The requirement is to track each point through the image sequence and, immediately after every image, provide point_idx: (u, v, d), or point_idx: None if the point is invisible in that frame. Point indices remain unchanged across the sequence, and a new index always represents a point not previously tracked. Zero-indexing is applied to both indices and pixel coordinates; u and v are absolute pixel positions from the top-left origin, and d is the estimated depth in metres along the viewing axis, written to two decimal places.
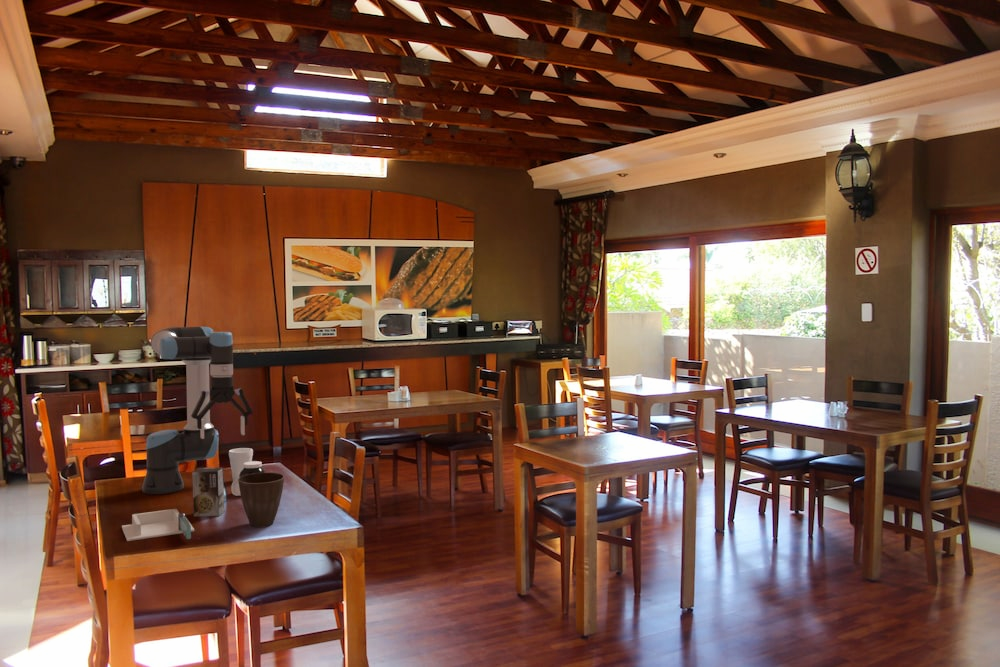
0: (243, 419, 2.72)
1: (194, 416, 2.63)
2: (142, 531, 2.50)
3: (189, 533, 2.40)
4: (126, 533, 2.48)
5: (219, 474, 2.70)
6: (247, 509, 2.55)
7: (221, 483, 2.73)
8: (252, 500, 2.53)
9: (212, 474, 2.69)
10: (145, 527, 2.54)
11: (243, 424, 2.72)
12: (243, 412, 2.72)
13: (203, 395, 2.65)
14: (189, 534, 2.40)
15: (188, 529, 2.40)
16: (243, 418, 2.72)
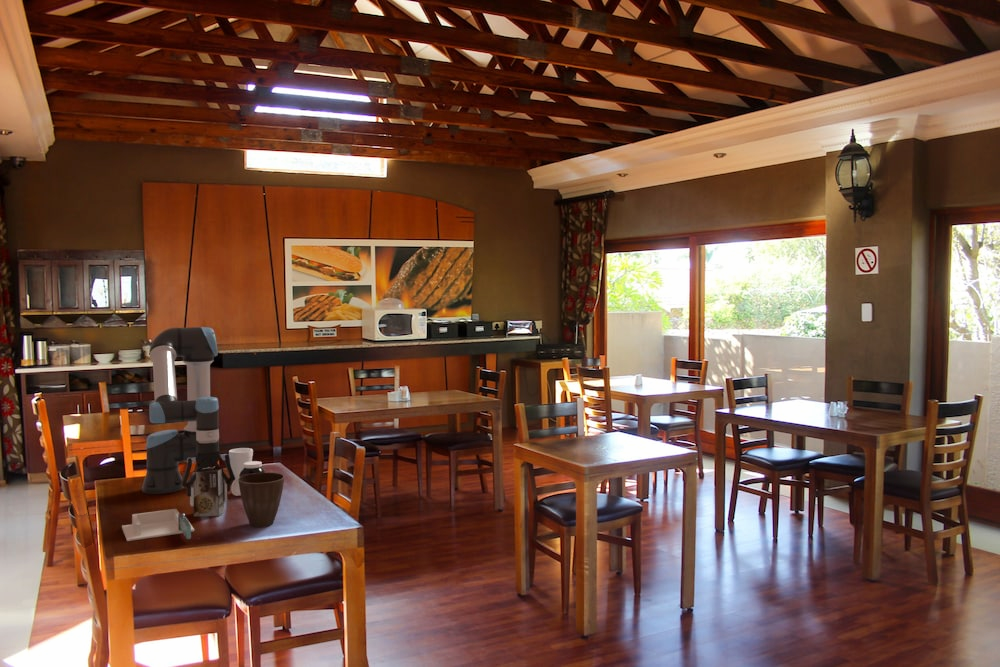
0: (225, 486, 2.74)
1: (184, 484, 2.66)
2: (142, 531, 2.50)
3: (189, 533, 2.40)
4: (126, 533, 2.48)
5: (219, 474, 2.70)
6: (247, 509, 2.55)
7: (221, 483, 2.73)
8: (252, 500, 2.53)
9: (212, 474, 2.69)
10: (145, 527, 2.54)
11: (225, 491, 2.74)
12: (226, 478, 2.74)
13: (189, 462, 2.67)
14: (189, 534, 2.40)
15: (188, 529, 2.40)
16: (225, 485, 2.74)
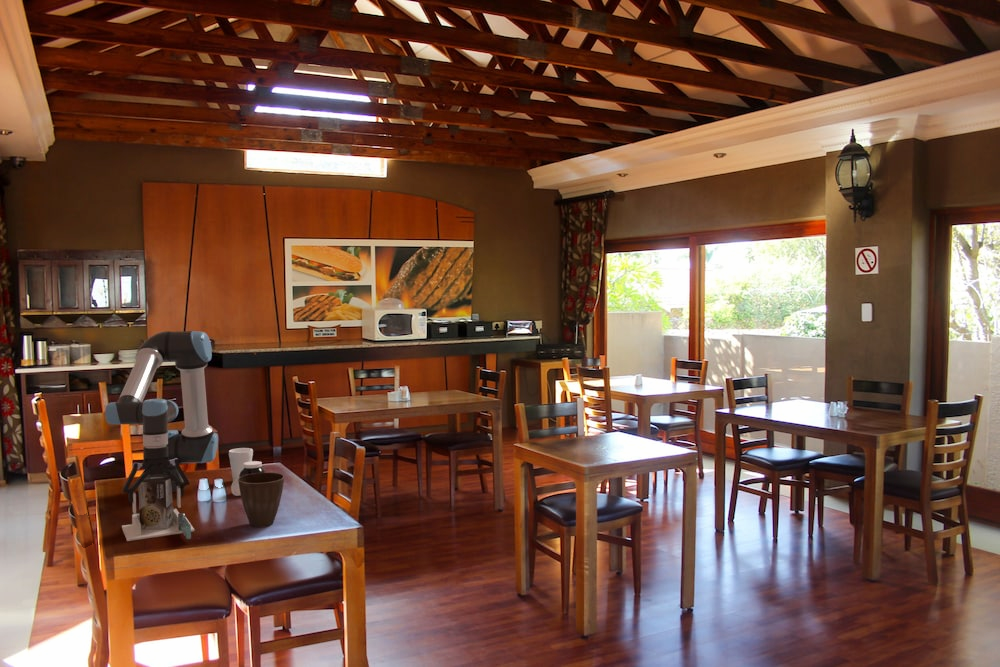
0: (179, 491, 2.57)
1: (125, 490, 2.49)
2: (142, 531, 2.50)
3: (189, 533, 2.40)
4: (126, 533, 2.48)
5: (167, 484, 2.53)
6: (247, 509, 2.55)
7: (170, 493, 2.56)
8: (252, 500, 2.53)
9: (160, 484, 2.52)
10: None
11: (179, 496, 2.57)
12: (179, 483, 2.57)
13: (135, 467, 2.50)
14: (189, 534, 2.40)
15: (188, 529, 2.40)
16: (179, 490, 2.57)
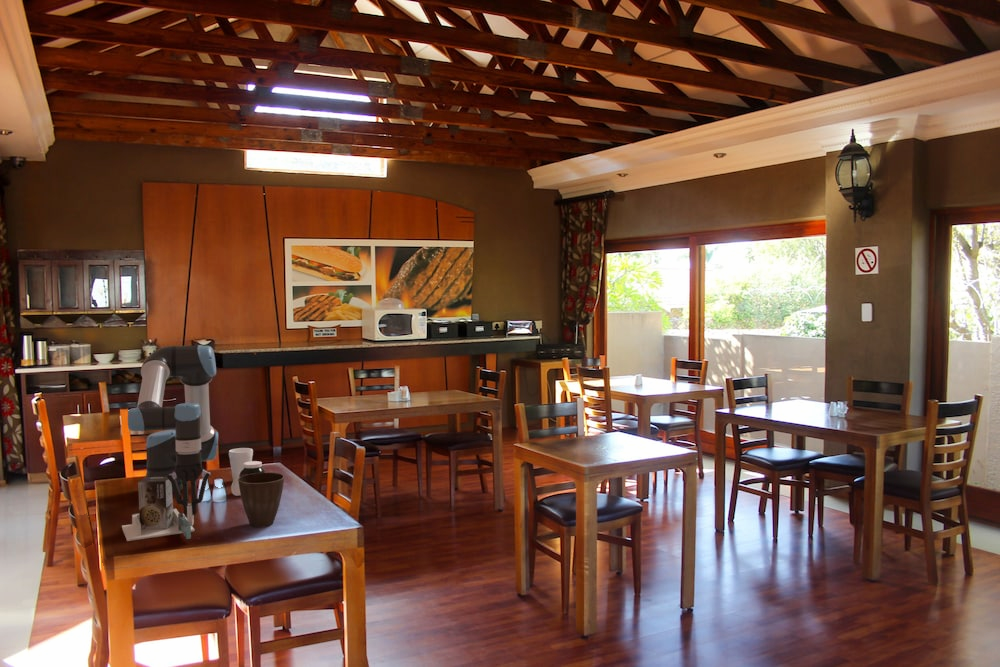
0: (190, 508, 2.45)
1: (178, 502, 2.44)
2: (142, 531, 2.50)
3: (189, 533, 2.40)
4: (126, 533, 2.48)
5: (167, 484, 2.53)
6: (247, 509, 2.55)
7: (170, 493, 2.56)
8: (252, 500, 2.53)
9: (160, 484, 2.52)
10: None
11: (190, 514, 2.45)
12: (193, 499, 2.45)
13: (170, 479, 2.43)
14: (189, 534, 2.40)
15: (188, 529, 2.40)
16: (190, 507, 2.45)
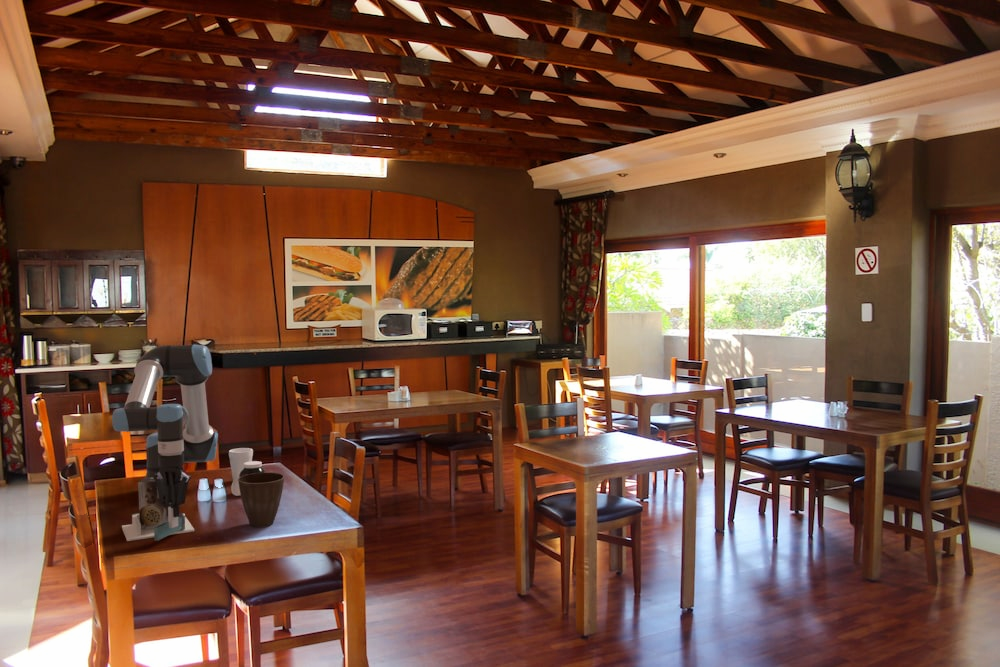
0: (170, 510, 2.43)
1: (162, 502, 2.44)
2: (142, 531, 2.50)
3: (156, 535, 2.38)
4: (126, 533, 2.48)
5: None
6: (247, 509, 2.55)
7: None
8: (252, 500, 2.53)
9: None
10: None
11: (170, 516, 2.43)
12: (173, 501, 2.43)
13: (155, 479, 2.44)
14: (156, 536, 2.38)
15: (155, 531, 2.38)
16: (170, 509, 2.43)
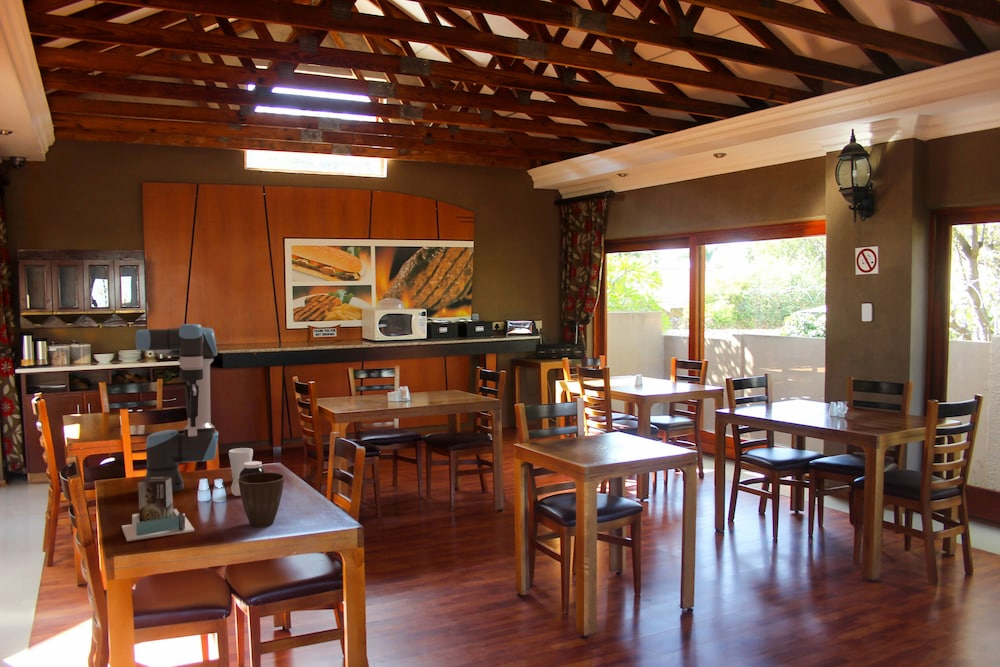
0: (188, 420, 2.67)
1: (186, 412, 2.70)
2: None
3: (136, 530, 2.43)
4: (126, 533, 2.48)
5: (167, 484, 2.53)
6: (247, 509, 2.55)
7: (170, 493, 2.56)
8: (252, 500, 2.53)
9: (160, 484, 2.52)
10: None
11: (188, 425, 2.67)
12: (189, 412, 2.66)
13: (185, 390, 2.72)
14: (136, 531, 2.43)
15: (136, 525, 2.43)
16: (188, 419, 2.67)
